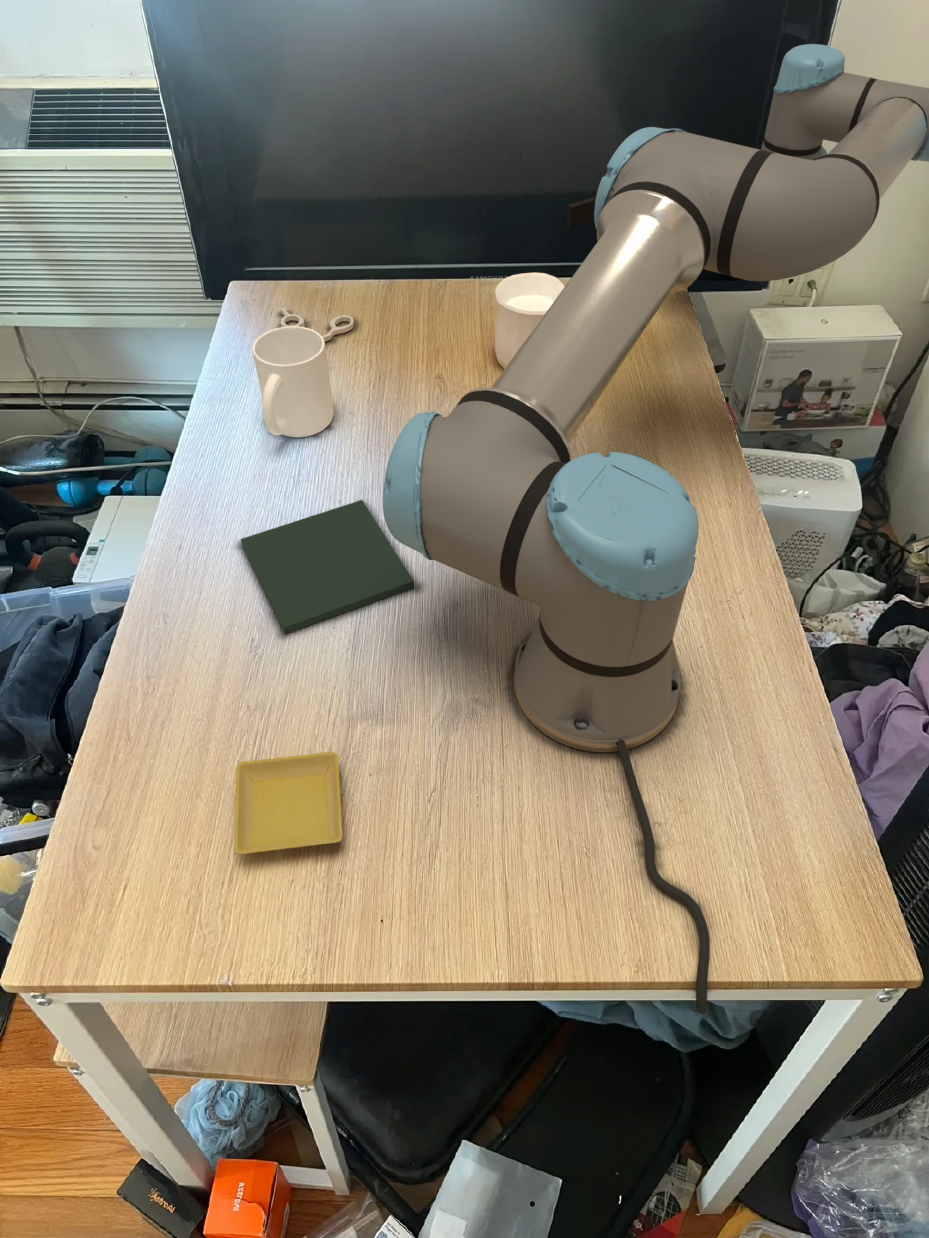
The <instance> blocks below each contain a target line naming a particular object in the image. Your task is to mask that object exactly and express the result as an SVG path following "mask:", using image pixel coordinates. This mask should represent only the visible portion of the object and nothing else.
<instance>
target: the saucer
mask: <svg viewBox="0 0 929 1238" xmlns="http://www.w3.org/2000/svg"><path fill="white" fill-rule="evenodd" d="M235 769H236V770H235V801H234V803H235V804H234V808H235V809H234V829H233V831H234V834H233V851H234V853H235V854H237V855H248V854H256V853H264V852H271V851H279V850H288V849H295V848H304V847H311V846H321V845H329V844H336V843H340V842H341V841H342V840H343V836H344V835H343V834H344V833H343V832H344V831H343V820H342V819H343V817H342V802H341V801H342V799H341V783H340V781H341V780H340V763H339V754H337V753H336V752H332V751H327V752H318V753H317V752H316V753H309V754H301V755H292V756H291V755H290V756H284V757H283V756H282V757H275V758H274V757H273V758H264V759H256V760H245V761H240V762H239V763H238V764H237V766H236V768H235Z"/></svg>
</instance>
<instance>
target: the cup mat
mask: <svg viewBox="0 0 929 1238" xmlns="http://www.w3.org/2000/svg"><path fill="white" fill-rule="evenodd" d="M240 543H241V546H242V549H243V550H244V552H245V554H246V556H247V559H248V561H249V562H250V565H251V567H252V569H253V571H254V573H255V575H256V578H257V579H258V582H259V584H260V585H261V587H262V590H263V592H264V594H265V596H266V598H267V600H268V602H269V604H270V606H271V608H272V610H273V612H274V614H275V616H276V618H277V621H278V623H279V625H280V626H281V629H282V631H283V633H284V634H289V633H291V632H292V633H293V632H295V631H297V630H300V629H302V628H305V627H309V626H311V625H313V624H316V623H320V622H322V621H325V620H328V619H330V618H333V617H336V616H339V615H341V614H345V613H347V612H350V611H353V610H355V609H358V608H361V607H363V606H367V605H369V604H372V603H375V602H378V601H381V600H383V599H386V598H388V597H391V596H394V595H397V594H400V593H403V592H406V591H408V590H411V589H413V588H415V582H414V579H413V578H412V576H411V574H410V573H409V571H408V570H407V568H406V566H405V565H404V563H403V562H402V560H401V559H400V557H399V556H398V554H397V553H396V551H395V549H394V548H393V546H392V544H391V543H390V542H389V540H388V538H387V537H386V535H385V534H384V532H383V531H382V529H381V528H380V526H379V525H378V523H377V521H376V519H375V518H374V516H373V515H372V514H371V512H370V510H369V509H368V507H367V505H366V504H365V502H364V501H363V500H362V499H359V500H357V501H354V502H350V503H348V504H344V505H341V506H339V507H334V508H332V509H329V510H326V511H323V512H319V513H316V514H313V515H310V516H308V517H304V518H301V519H298V520H295V521H291V522H289V523H286V524H283V525H280V526H277V527H273V528H271V529H268V530H267V529H266V530H264V531H260V532H258V533H255V534H252V535H249V536H246V537H243V538H241V539H240Z"/></svg>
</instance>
